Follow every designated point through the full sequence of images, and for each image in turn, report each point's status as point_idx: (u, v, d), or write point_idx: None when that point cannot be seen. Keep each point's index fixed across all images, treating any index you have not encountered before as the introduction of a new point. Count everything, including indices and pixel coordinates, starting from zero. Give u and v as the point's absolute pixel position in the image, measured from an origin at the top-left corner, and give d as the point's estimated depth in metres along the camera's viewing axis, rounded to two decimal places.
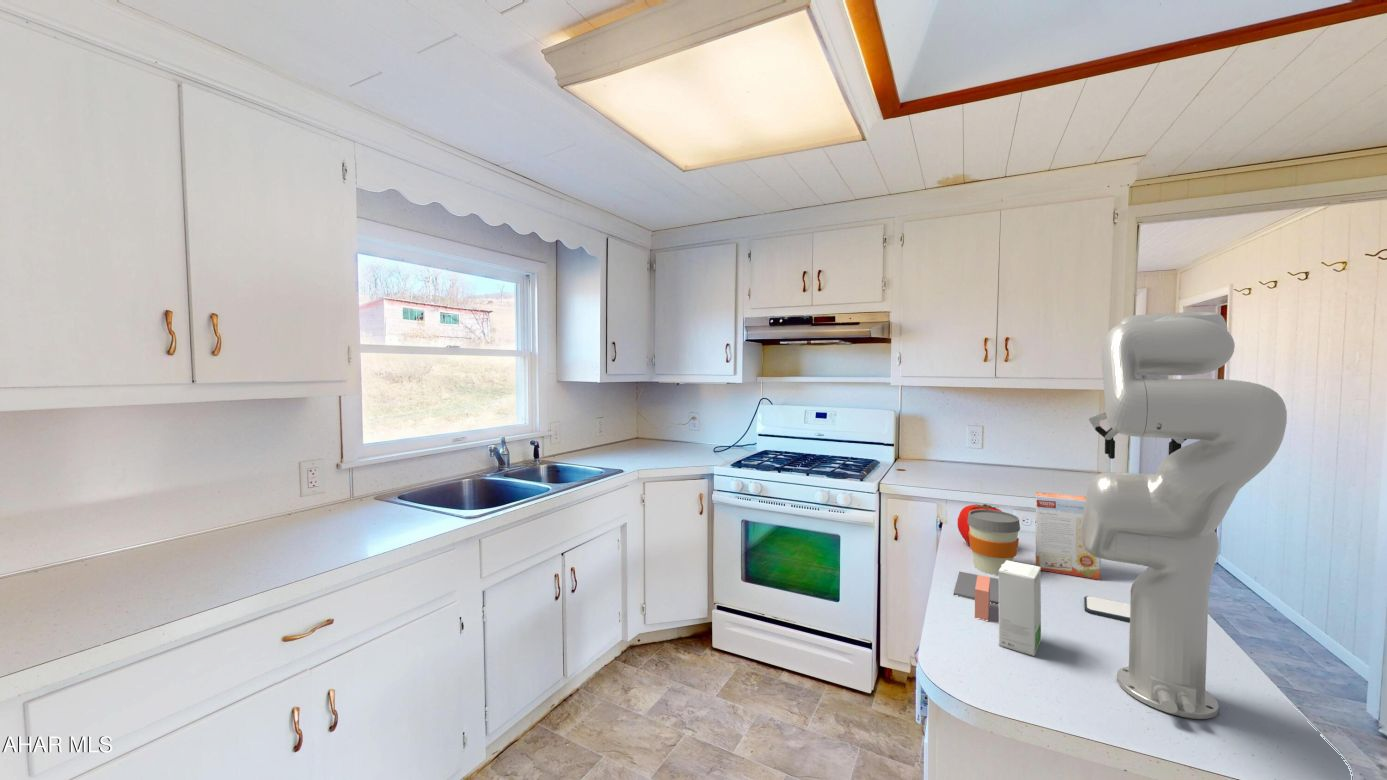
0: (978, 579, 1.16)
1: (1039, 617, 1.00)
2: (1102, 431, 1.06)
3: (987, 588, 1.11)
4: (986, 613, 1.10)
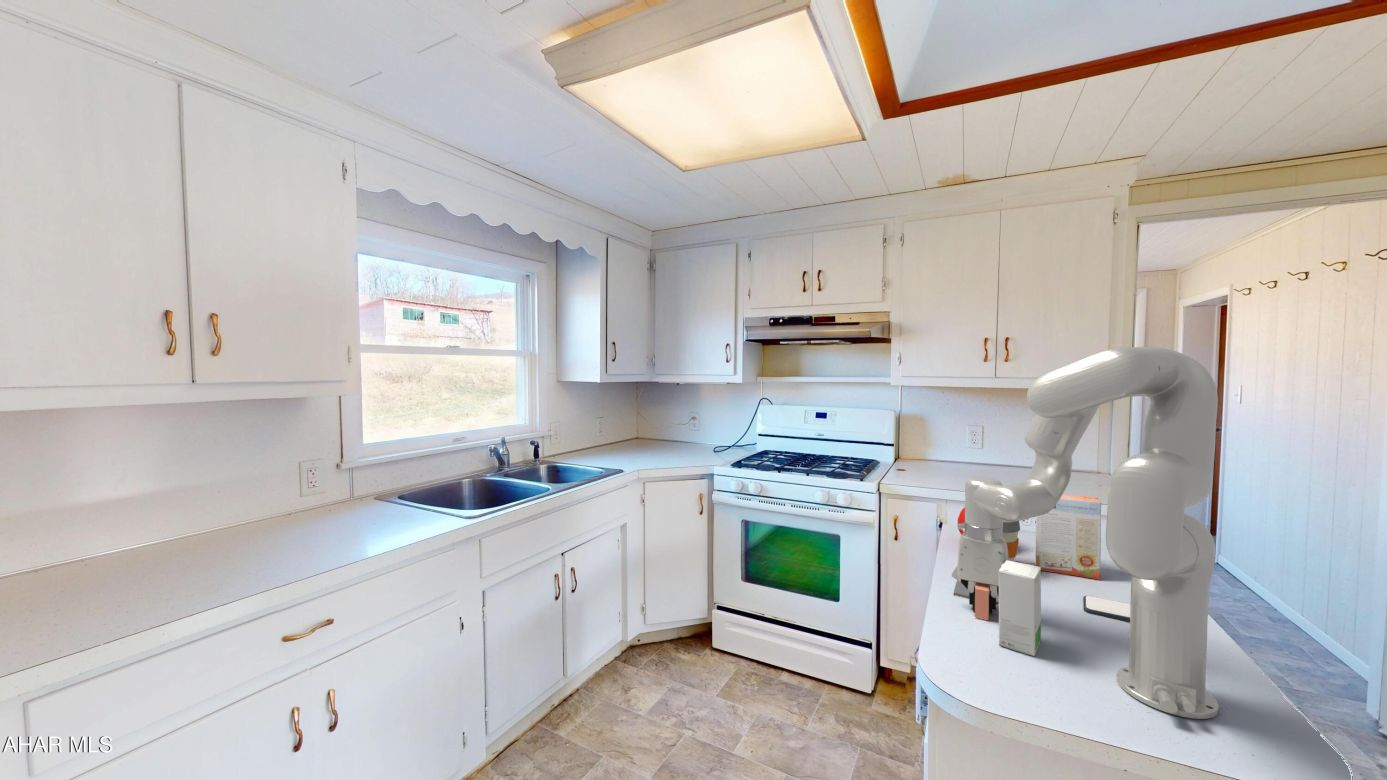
0: None
1: (1039, 617, 1.00)
2: (966, 584, 1.15)
3: (987, 588, 1.11)
4: (986, 612, 1.10)
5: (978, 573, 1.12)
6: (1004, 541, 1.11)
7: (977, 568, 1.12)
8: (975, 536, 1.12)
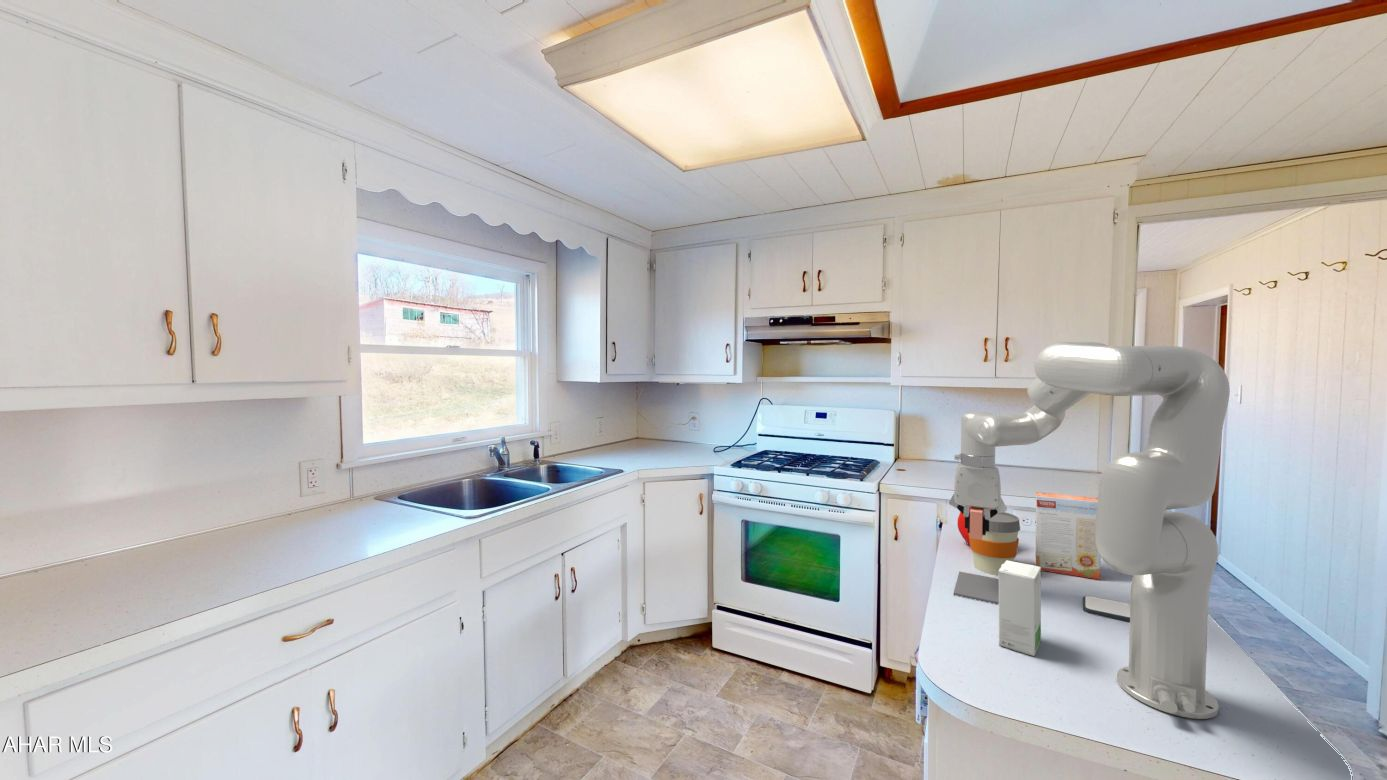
0: None
1: (1039, 617, 1.00)
2: (962, 509, 1.27)
3: (981, 510, 1.23)
4: (980, 532, 1.22)
5: (973, 498, 1.24)
6: (996, 468, 1.23)
7: (972, 493, 1.24)
8: (970, 464, 1.23)
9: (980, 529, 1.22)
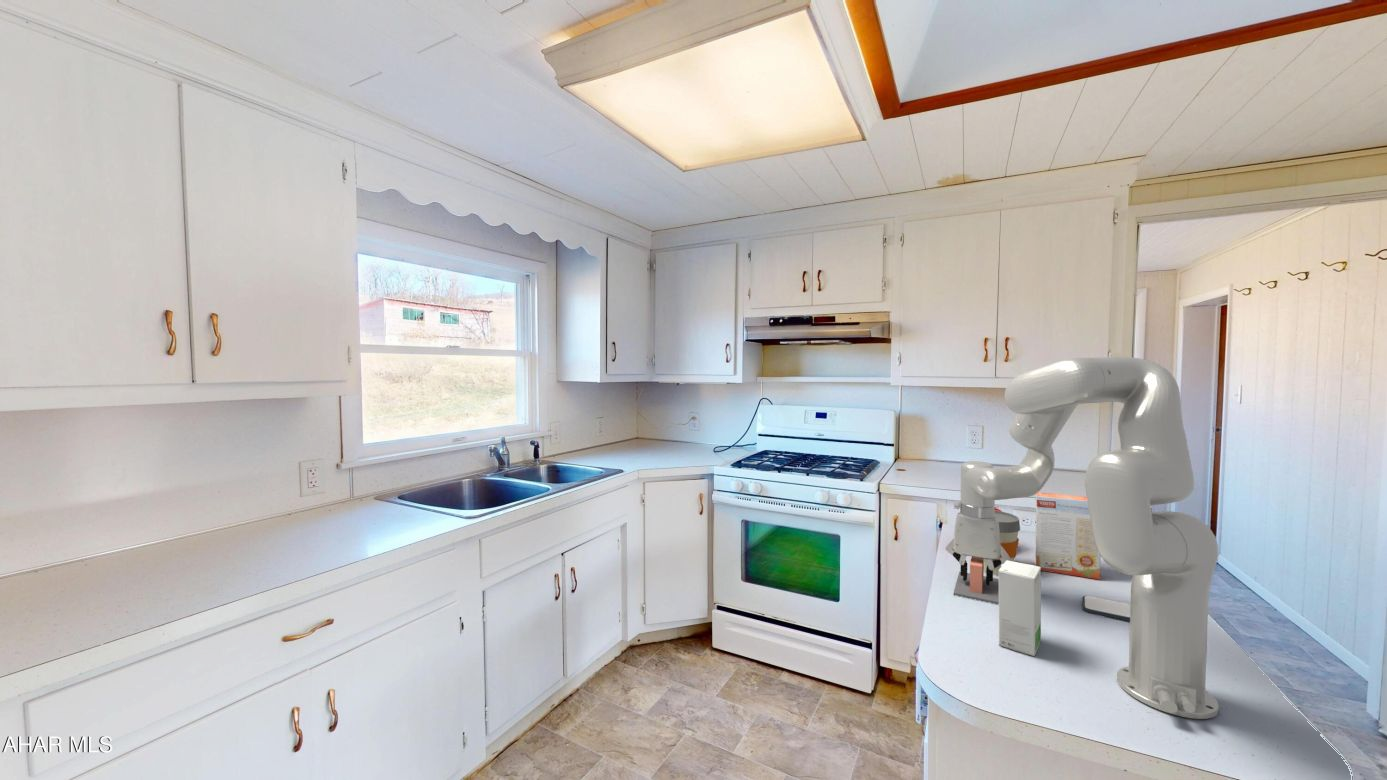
0: None
1: (1039, 617, 1.00)
2: (957, 557, 1.28)
3: (981, 564, 1.23)
4: (980, 586, 1.22)
5: (972, 548, 1.24)
6: (996, 519, 1.23)
7: (971, 543, 1.24)
8: (969, 514, 1.23)
9: (980, 583, 1.22)
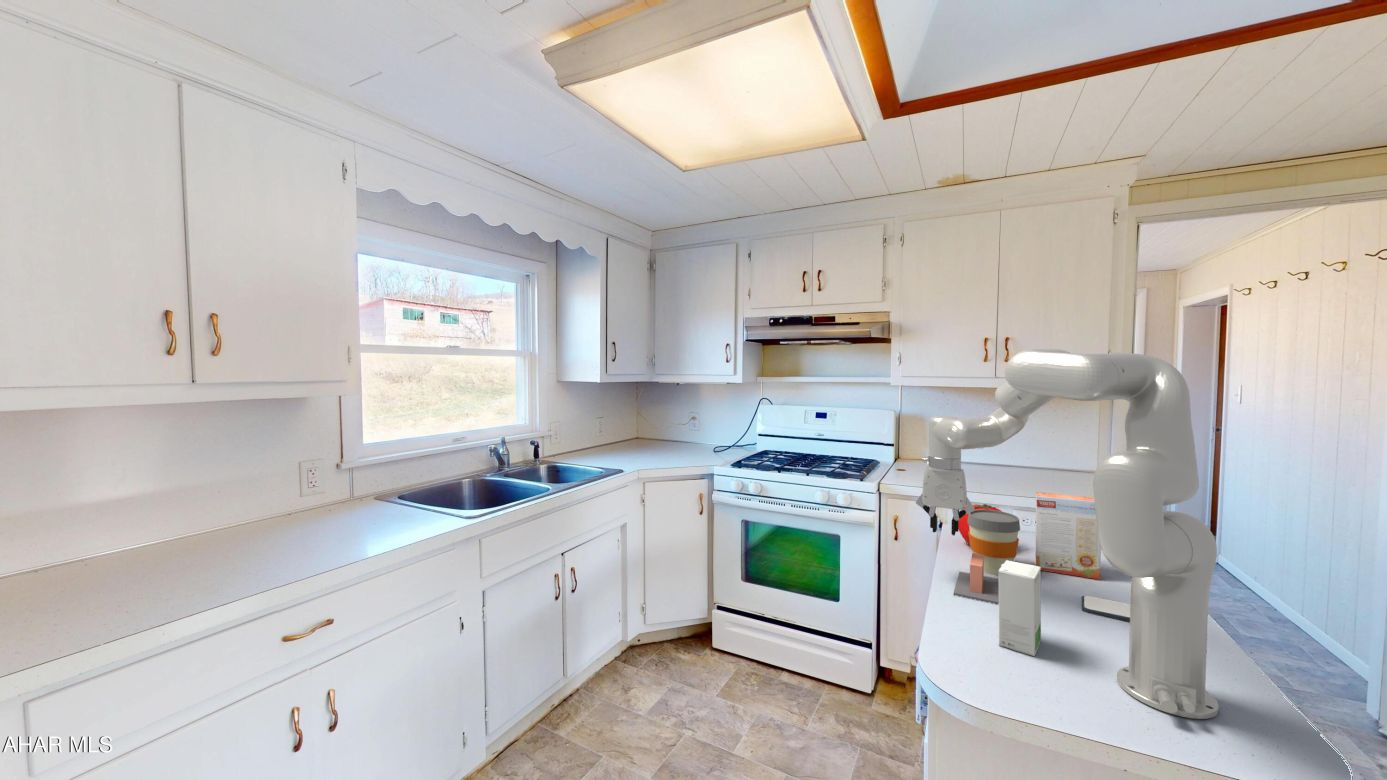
0: (973, 556, 1.28)
1: (1039, 617, 1.00)
2: (927, 509, 1.31)
3: (981, 564, 1.23)
4: (980, 586, 1.22)
5: (939, 499, 1.28)
6: (962, 470, 1.27)
7: (939, 494, 1.28)
8: (937, 466, 1.27)
9: (980, 583, 1.22)
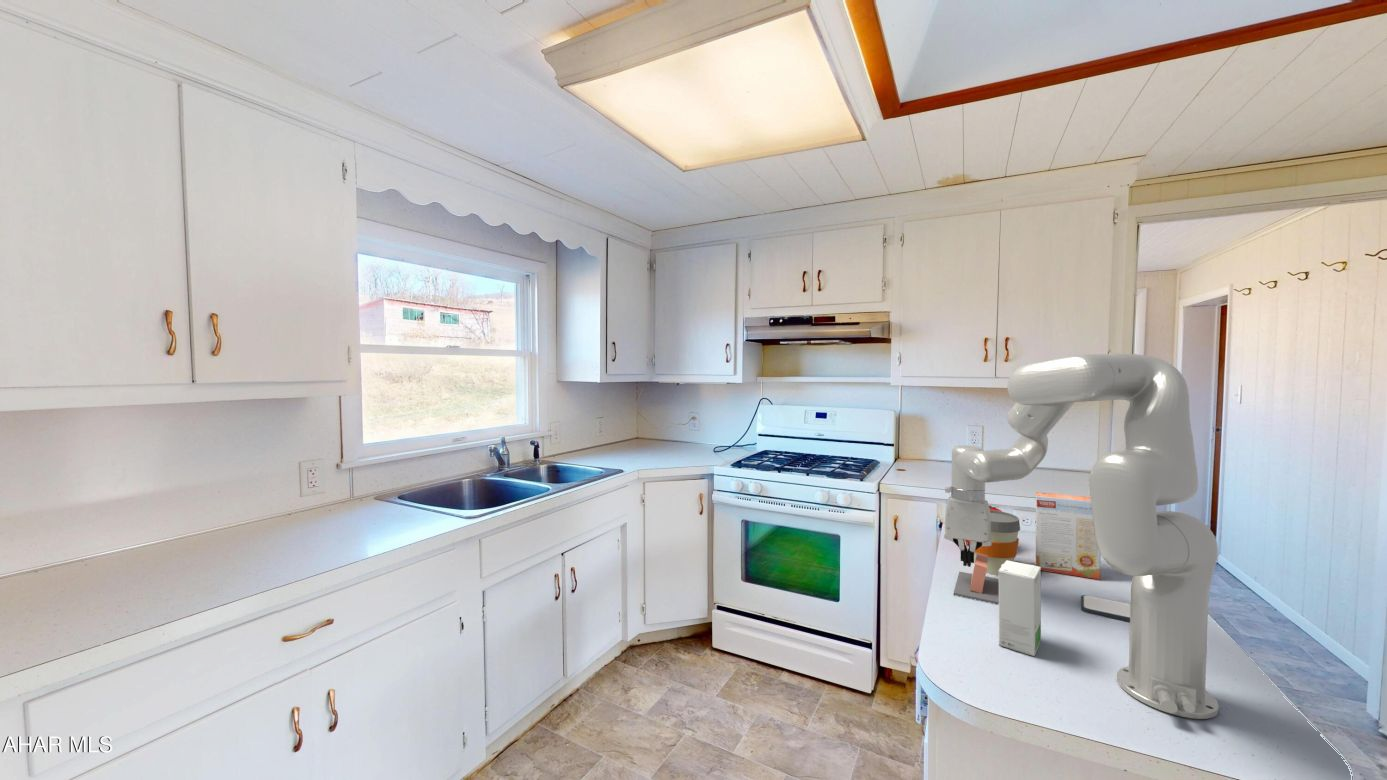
0: (977, 556, 1.27)
1: (1039, 617, 1.00)
2: (957, 542, 1.28)
3: (985, 564, 1.23)
4: (981, 586, 1.22)
5: (963, 531, 1.25)
6: (986, 502, 1.24)
7: (962, 526, 1.25)
8: (960, 497, 1.24)
9: (982, 583, 1.22)
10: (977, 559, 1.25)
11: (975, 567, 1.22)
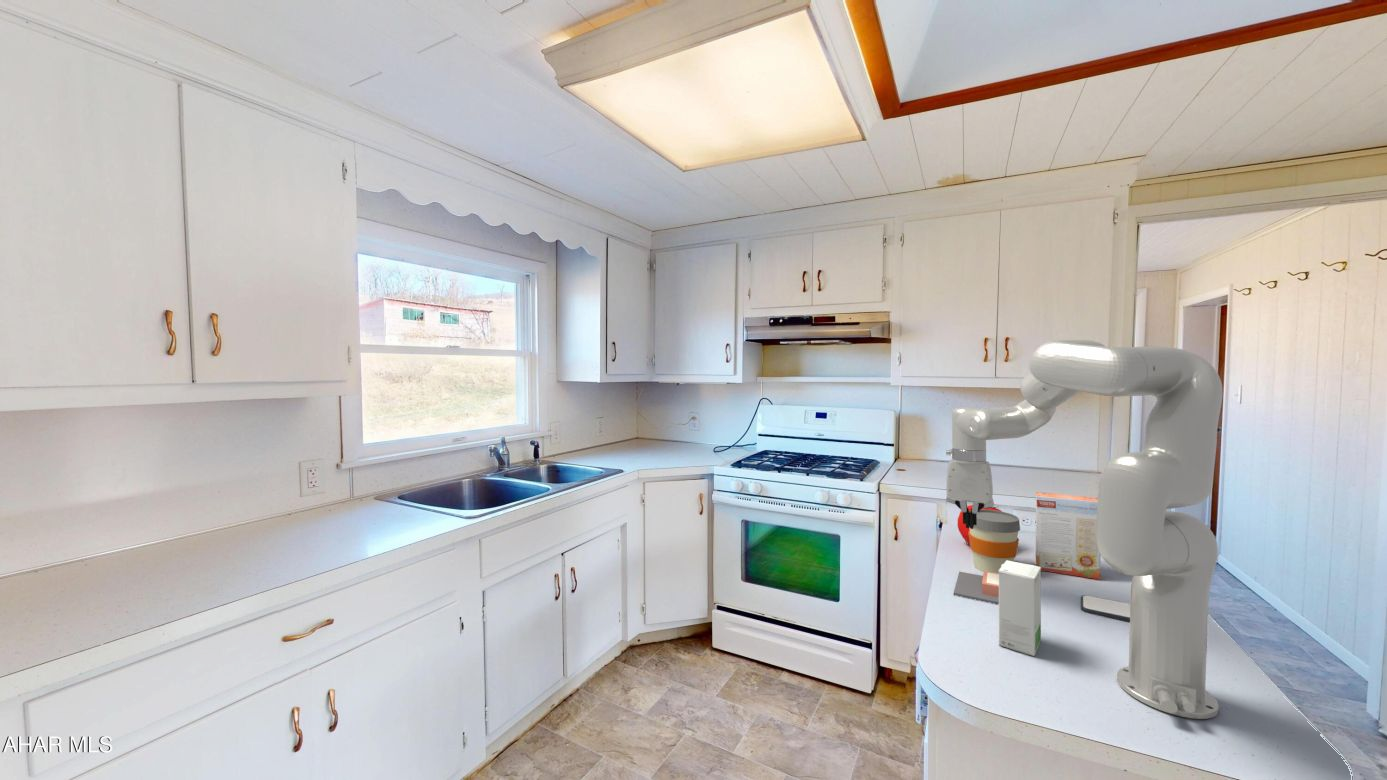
0: None
1: (1039, 617, 1.00)
2: (959, 504, 1.27)
3: None
4: (990, 594, 1.21)
5: (965, 492, 1.24)
6: (987, 462, 1.23)
7: (964, 488, 1.24)
8: (961, 458, 1.24)
9: (994, 595, 1.21)
10: None
11: None
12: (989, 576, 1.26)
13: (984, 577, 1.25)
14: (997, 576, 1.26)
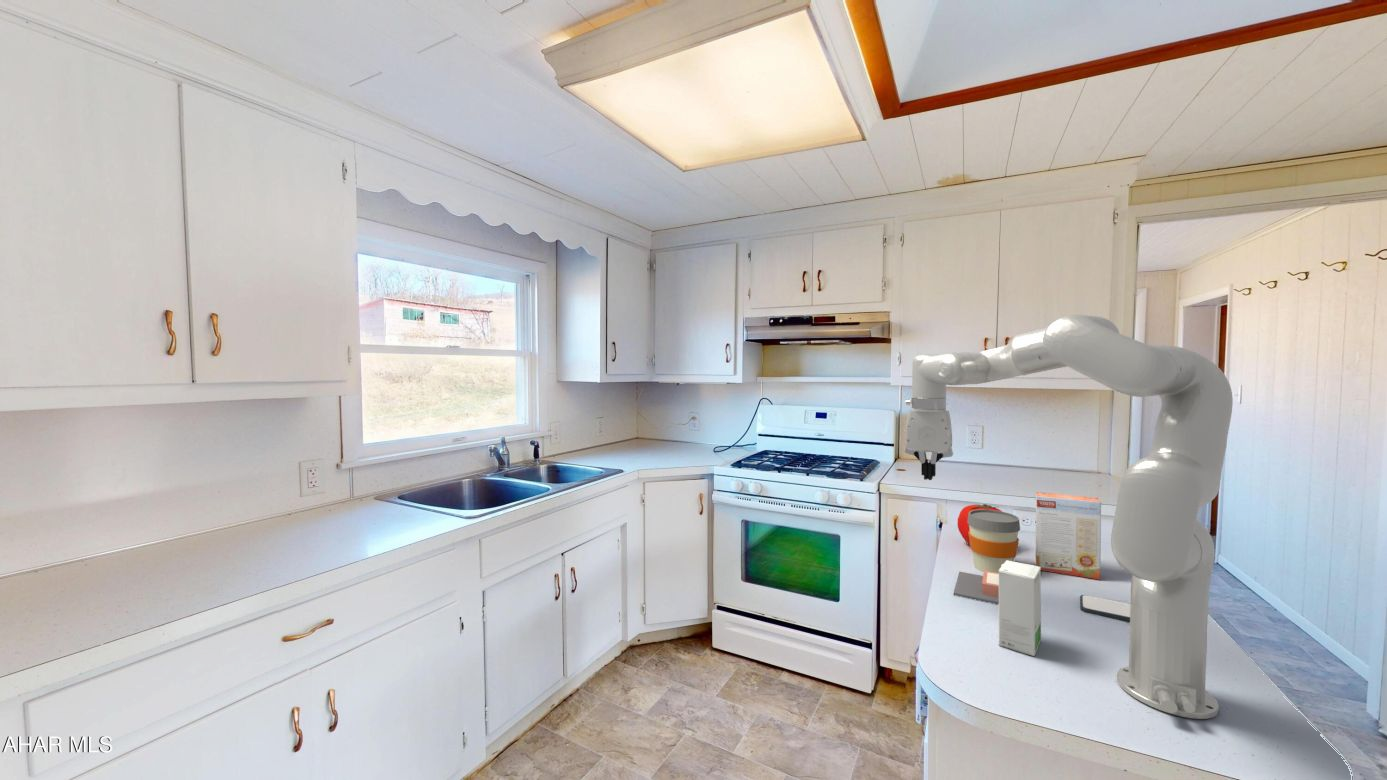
0: None
1: (1039, 617, 1.00)
2: (918, 455, 1.23)
3: None
4: (990, 594, 1.21)
5: (923, 442, 1.20)
6: (947, 411, 1.19)
7: (922, 437, 1.20)
8: (920, 407, 1.19)
9: (994, 595, 1.21)
10: None
11: None
12: (989, 576, 1.26)
13: (984, 577, 1.25)
14: (997, 576, 1.26)
